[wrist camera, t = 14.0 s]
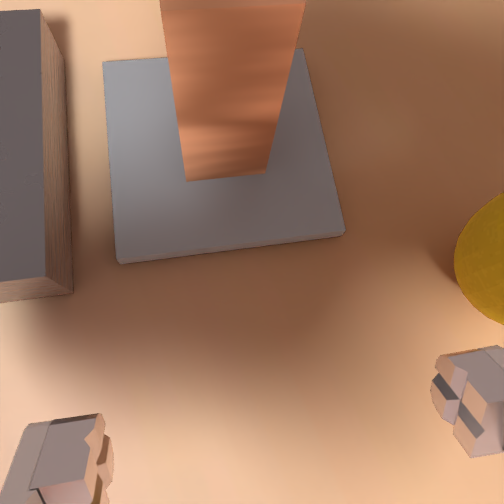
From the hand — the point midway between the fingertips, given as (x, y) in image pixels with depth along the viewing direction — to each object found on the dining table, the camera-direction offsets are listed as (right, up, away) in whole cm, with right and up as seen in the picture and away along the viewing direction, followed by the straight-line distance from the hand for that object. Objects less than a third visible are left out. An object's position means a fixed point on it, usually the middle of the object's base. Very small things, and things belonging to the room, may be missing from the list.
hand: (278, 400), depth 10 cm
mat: (-2, +8, +10) cm, 13 cm away
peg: (-2, +9, +9) cm, 13 cm away
